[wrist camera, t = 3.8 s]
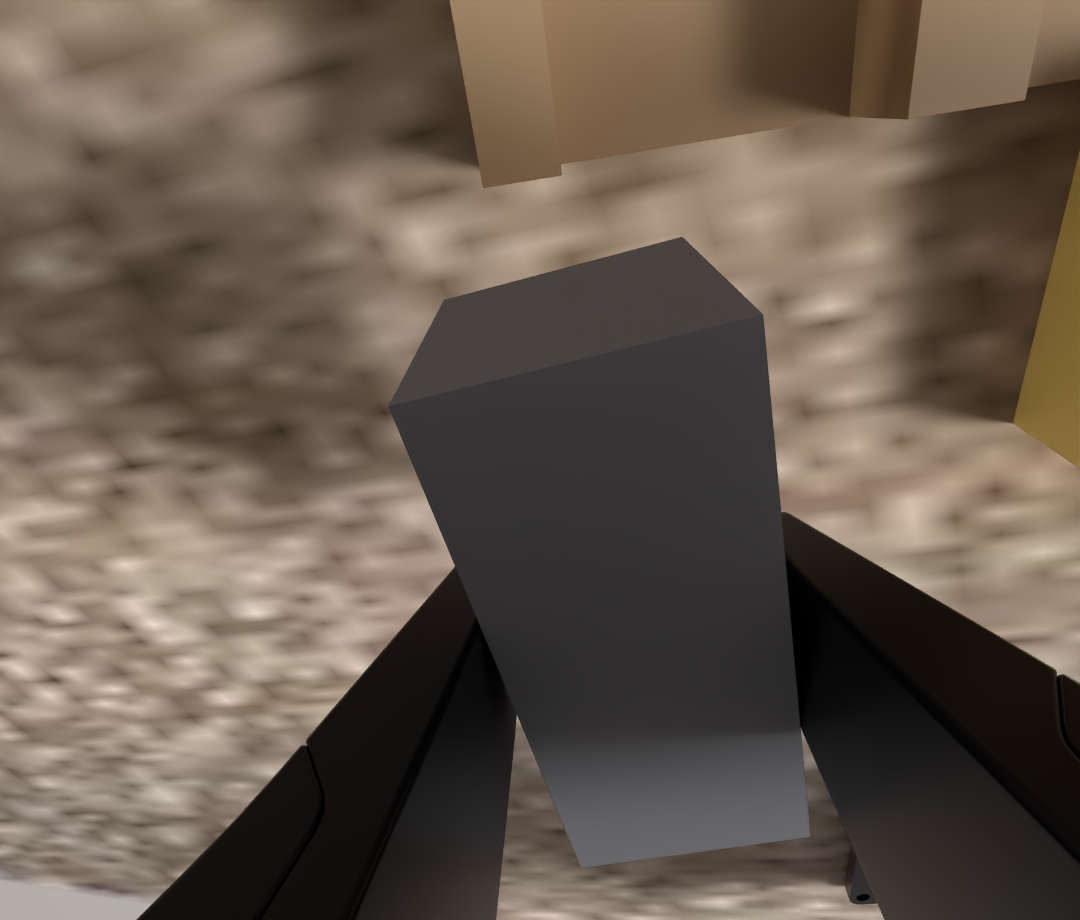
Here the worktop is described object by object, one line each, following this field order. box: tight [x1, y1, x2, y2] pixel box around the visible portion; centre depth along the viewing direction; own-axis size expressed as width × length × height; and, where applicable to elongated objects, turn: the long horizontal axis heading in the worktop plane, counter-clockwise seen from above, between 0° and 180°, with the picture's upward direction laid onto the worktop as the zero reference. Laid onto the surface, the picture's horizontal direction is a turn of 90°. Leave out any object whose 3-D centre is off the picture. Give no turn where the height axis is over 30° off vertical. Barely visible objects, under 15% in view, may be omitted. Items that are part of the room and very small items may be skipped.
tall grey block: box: [389, 237, 810, 868], centre depth 8 cm, size 7×3×3 cm, turn 15°
